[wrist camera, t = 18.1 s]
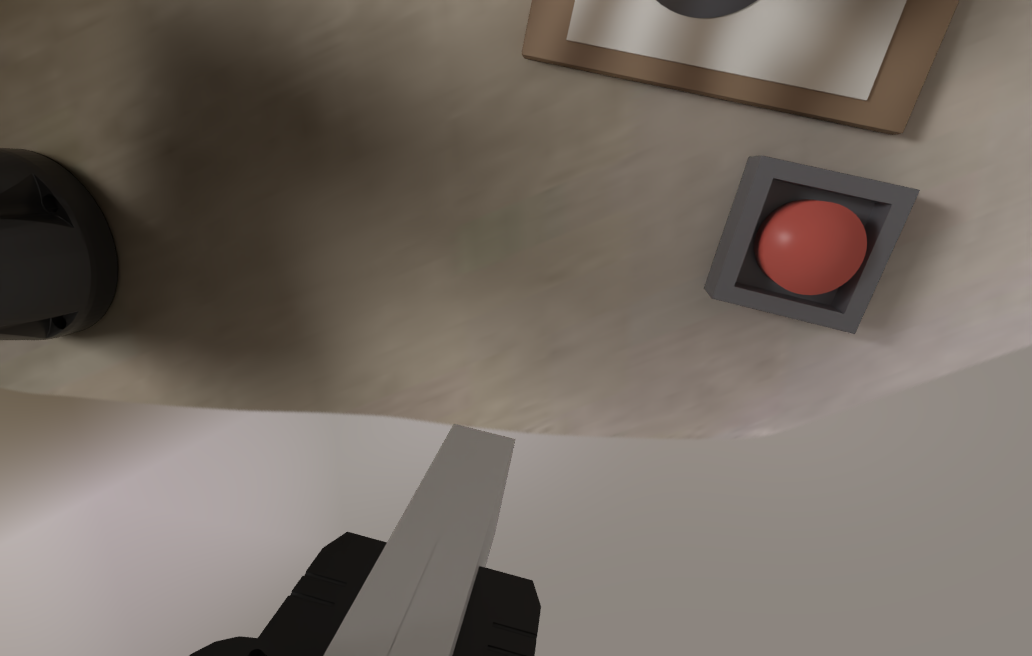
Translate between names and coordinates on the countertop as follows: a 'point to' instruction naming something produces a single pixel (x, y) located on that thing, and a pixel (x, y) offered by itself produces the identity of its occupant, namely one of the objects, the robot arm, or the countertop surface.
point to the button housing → (788, 181)
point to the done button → (810, 246)
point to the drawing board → (756, 50)
